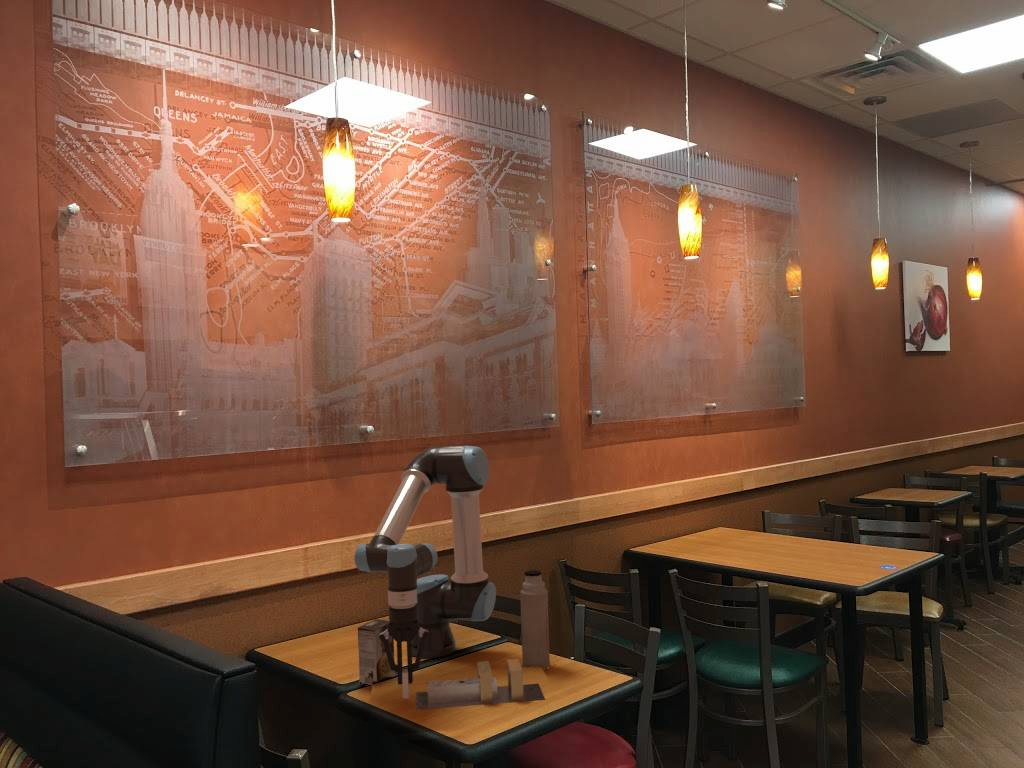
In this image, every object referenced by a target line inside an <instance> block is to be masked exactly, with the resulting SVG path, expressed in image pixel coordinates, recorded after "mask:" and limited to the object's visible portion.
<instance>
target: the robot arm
mask: <svg viewBox="0 0 1024 768" xmlns="http://www.w3.org/2000/svg"><path fill="white" fill-rule="evenodd" d="M489 474H490V464H489V460H488V456H487V454H486V452H485V450H483V449H482V448H481V447H479V446H475V445H474V446H472V445H447V446H446V445H445V446H441V445H437V446H436V445H434V446H430V447H428V448H426V449H424V450H423V451H421V452H419V454H417V455H416V456H414V458H412V459H411V461H409V463H407V465H406V467H404V470H403V472H402V473H401V477H400V481H401V483H400V485H399V487H398V488H397V491H396V493H395V495H394V496H393V498H392V500H391V502H390V503H389V506H388V508H387V510H386V512H385V514H384V515H383V517H382V520H381V521H380V523H379V525H378V526H377V529H376V531H375V532H374V534H373V536H372V538H371V540H370V541H369V543H366V542H365V543H361V544H359V545H358V546H357V547H356V549H355V550H354V551H355V552H354V557H353V558H354V559H353V560H354V564H355V566H356V567H355V568H356V569H357V570H359V571H361V572H366V573H385V574H386V573H387V597H388V598H387V599H388V603H387V604H388V605H389V607H388V621H389V625H388V627H387V630H385V631H384V632H381V633H380V635H379V638H380V640H381V641H382V642H383V644H384V647H385V651H386V655H387V658H388V662H389V665H390V669H391V670H392V671H395V672H396V673H397V683H398V685H401V686H402V699H409V696H410V695H409V694H410V692H409V689H410V687H409V684H410V685H412V684H413V681H414V675H413V672H414V670H418V669H420V666H421V660H422V659H431V658H432V659H433V658H442V657H446V656H448V655H451V654H454V652H455V651H456V650H457V641H456V639H455V636H454V633H453V631H452V627H451V624H450V622H451V621H450V620H456V621H457V620H458V621H470V622H484V621H486V620H488V619H489V618H490V617H491V615H492V613H493V611H494V608H495V603H496V597H497V588H496V586H495V583H494V582H492V581H489V575H488V573H487V572H486V571H485V570H484V568H483V567H484V565H483V564H484V562H483V545H482V529H481V525H482V524H481V511H480V493H481V492H482V491H483V490H484V485H486V484H487V482H488V481H489V478H490V475H489ZM436 484H437V485H438V484H439V485H445V486H444V487H445V493H447V494H448V495H449V496H450V500H451V501H450V502H451V503H450V504H451V517H452V518H451V519H452V522H451V523H452V534H453V535H452V537H453V552H454V553H453V555H454V571H455V572H454V573H453V574H452V575H451V576H450V578H449V575H447V574H443V573H442V574H433V575H432V574H431V575H426V576H423V577H420V578H418V577H419V576H421V575H423V574H425V573H428V572H430V571H431V570H432V569H433V568H434V567H435V566H436V564H437V562H438V558H439V557H438V552H437V550H436V548H435V547H434V546H433V545H431V544H429V543H426V542H423V543H418V544H416V545H414V544H412V543H401V542H402V539H403V537H404V535H405V533H406V531H407V529H408V526H409V525H410V522H411V521H412V519H413V516H414V514H415V512H416V510H417V509H418V506H419V505H420V502H421V501H422V498H423V497H424V494H426V493H427V492H429V491H430V490H431V487H432V486H433V485H436ZM389 633H390V635H391V636H392V637H393V638H394V642H396V662H397V663H396V662H394V660H395V657H394V658H393V655H392V651H391V647H390V644H389V640H388V639H389V635H388V634H389ZM403 642H405V643H406V655H407V656H406V657H407V658H406V659H407V661H406V662H407V668H405V669H403V648H402V647H403ZM413 657H415V660H414V663H413Z"/></svg>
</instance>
